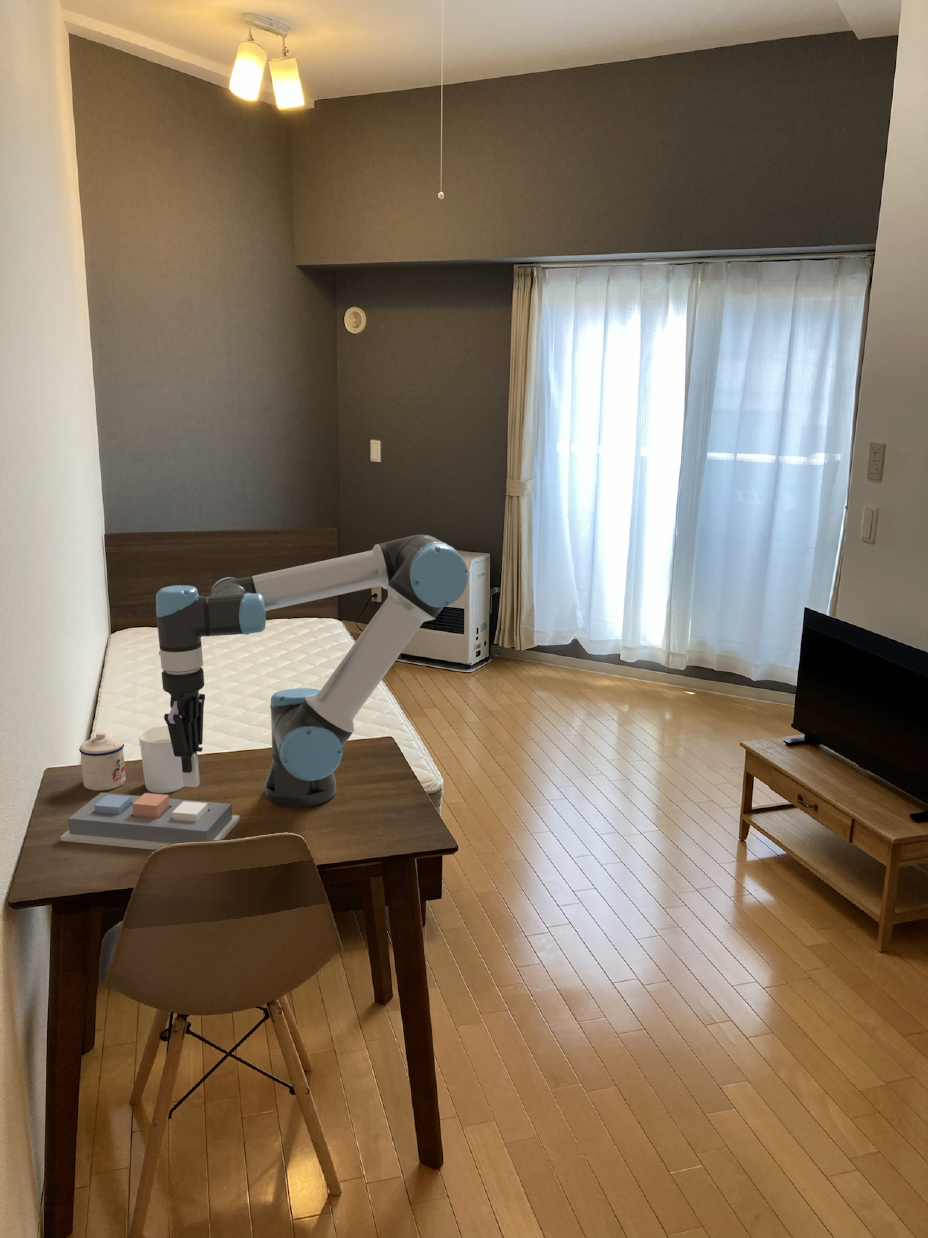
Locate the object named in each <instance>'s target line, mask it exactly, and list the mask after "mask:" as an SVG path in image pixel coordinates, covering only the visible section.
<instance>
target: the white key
mask: <svg viewBox="0 0 928 1238" xmlns="http://www.w3.org/2000/svg"><path fill="white" fill-rule="evenodd" d="M207 813H208V804H207V803H198V802H187V801H183V802H182V803H181V804H180V805H179V806H178V807H177V808H176V809H175V810H174V811H173V812H172V820H176V821H187V822H199V821H200V820H201V819H202V818H203V817H204V816H205V815H206V814H207Z"/></svg>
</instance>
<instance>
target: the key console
mask: <svg viewBox="0 0 928 1238" xmlns="http://www.w3.org/2000/svg"><path fill="white" fill-rule="evenodd" d="M107 795H118V796H130V797H131V802H132V805H131V806H130V807H129V808H128V809H127V810H125V811H124V812H123V813H122V814H121V815H110V814H99V813H95V807H94V805H95V804H97V803H98V802H99V801H100V800H102V799H103V798H104V797H105V796H107ZM141 796H142V795H132V794H123V793H122V794H120V793H113V792H112V793H111V792H110V793H109V792H100V793H98V794H97V795H96V796H95V797H93V798H92V799H91V800H90V801H88V802H87V803H86V804H85V805H83V806H81V808H79V809H78V810H77V811H76V812H75V813H73V814H72V815H71V816H69V817H68V818H67V820H68V830H67V831H65V832H64V833H63V834H62V835H61V836H60V841H61V842H71V843H82V844H91V845H101V846H111V847H122V848H132V849H133V848H135V849H141V850H143V849H145V850H152V851H153V850H155V849H157V848H159V847H160V846H165V845H168V844H171V843H184V842H194V841H204V840H220V839H223V840H224V839H225V837H226V836H227V835H228V834H229V833H230V832H231V830H232V829H233V828H234V827H235V826H236V825H237V824H238V823H239V822H240V820H241V816H240V815H235V814H233V808H232V807H233V806H232V803H226V802H212V801H201V800H191V799H190V800H189V799H180V798H169V807H170V809H169V810H168V811H166V812H165V813H164V814H163V815H162V816H161V817H160V818H159V819H154V818H143V817H133V803H134V802H135V801H136V800H137V799H139V798H140V797H141ZM183 801H187V802H198V803H207V804H208V813H207V814H206V815H205V816H204V817H203V818H202V819H201V820H200V821H199V822H187V821H176V820H172V812H173V811H174V810H175V809H176V808H177V807H178V806H179V805H180V804H181V803H182V802H183ZM155 851H156V850H155Z"/></svg>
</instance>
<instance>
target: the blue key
mask: <svg viewBox="0 0 928 1238" xmlns="http://www.w3.org/2000/svg"><path fill="white" fill-rule="evenodd" d="M131 805H132V802H131V797H130V796H118V795H107V796H105V797H104V798H103V799H102V800H100V801H99V802H98V803H97V804H95V805H94V807H95V813H99V814H110V815H121V814H122V813H123V812H124V811H125V810H127V809H128V808H129V807H130V806H131Z"/></svg>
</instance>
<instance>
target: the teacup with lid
mask: <svg viewBox="0 0 928 1238" xmlns="http://www.w3.org/2000/svg"><path fill="white" fill-rule="evenodd" d="M124 747H125V743H124V741H123V740H122V739H120V738H118V737H117V736H116V737H115V736H110V735H107V734H106V732H105V731H99V732H97V733H96V734H95V736H94V737H92V738H90V739H88V740H85V741H83V742H82V743H81V744H80V746H79V749H78V751H79V753H80V757H81V758H80V759H81V771H82V781H83V782H82V783H83V786H84V788H85V789H87V790H90V791H96V792H98V791H101V792H102V791H109V790H113V789H117V788H118V787H120V786H122V785H124V784H125V781H126V768H125V757H124V754H125V753H124Z"/></svg>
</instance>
